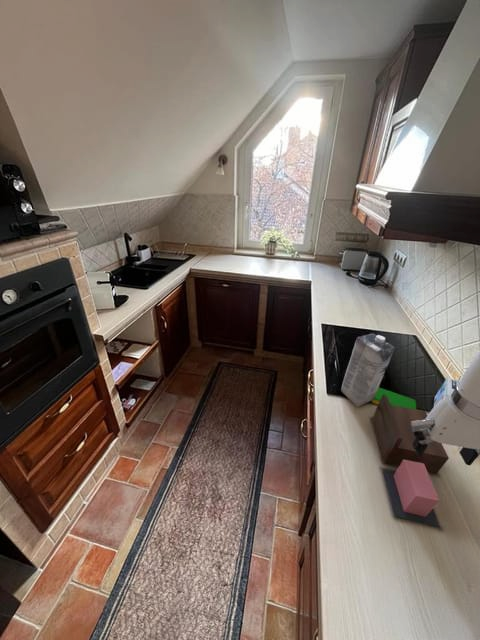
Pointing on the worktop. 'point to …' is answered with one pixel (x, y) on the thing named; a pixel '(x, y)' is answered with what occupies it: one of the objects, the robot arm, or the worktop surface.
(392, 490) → the slate mat
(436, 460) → the walnut shelf
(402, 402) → the dish sponge
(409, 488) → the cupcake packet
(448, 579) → the worktop surface
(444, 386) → the light bulb box
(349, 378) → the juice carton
